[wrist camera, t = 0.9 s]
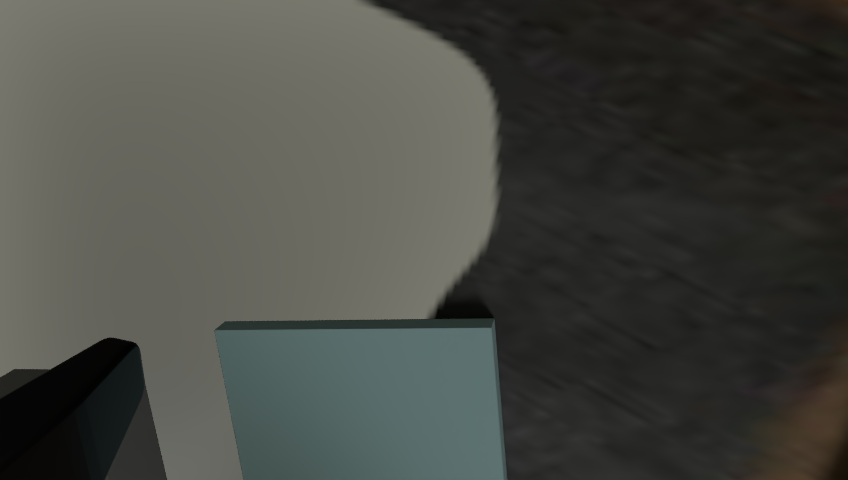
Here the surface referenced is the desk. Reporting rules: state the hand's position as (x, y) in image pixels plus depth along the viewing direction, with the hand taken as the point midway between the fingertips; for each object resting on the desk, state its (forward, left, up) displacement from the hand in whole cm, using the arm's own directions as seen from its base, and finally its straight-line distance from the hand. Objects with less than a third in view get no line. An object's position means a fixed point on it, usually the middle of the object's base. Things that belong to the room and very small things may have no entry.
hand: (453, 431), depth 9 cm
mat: (-10, +6, -13) cm, 18 cm away
